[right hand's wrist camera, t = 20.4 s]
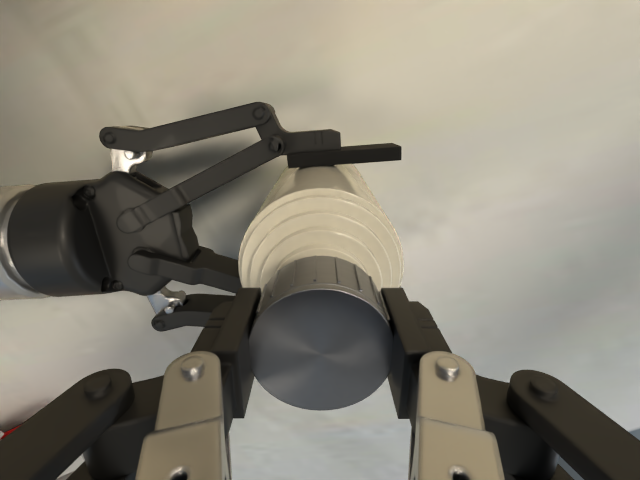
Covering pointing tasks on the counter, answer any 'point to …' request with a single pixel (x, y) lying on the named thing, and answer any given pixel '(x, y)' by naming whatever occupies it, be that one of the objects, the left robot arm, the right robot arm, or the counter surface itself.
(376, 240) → the ribbed frosted cylinder
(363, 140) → the counter surface
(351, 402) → the cap
